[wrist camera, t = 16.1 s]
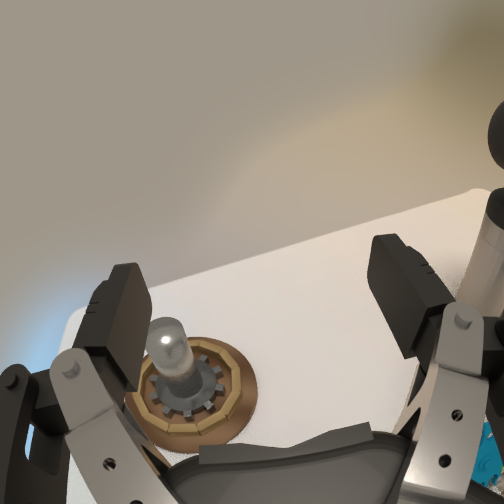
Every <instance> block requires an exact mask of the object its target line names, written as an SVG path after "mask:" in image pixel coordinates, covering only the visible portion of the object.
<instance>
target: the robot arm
mask: <svg viewBox="0 0 504 504" xmlns="http://www.w3.org/2000/svg"><path fill="white" fill-rule="evenodd" d="M488 145H489V150H490V153H491V155H492V157H493V159H494V161H495V162H496V163H497V164H498V165H499V166H500V167H501V168H502V169H504V101H503V102H502V103H501V104H500V105H499V106H498V108H497V109H496V110H495V112H494V114H493V116H492V118H491V121H490V124H489V129H488ZM367 279H368V284H369V287H370V290H371V291H372V293H373V295H374V297H375V299H376V301H377V303H378V305H379V307H380V309H381V311H382V313H383V315H384V317H385V319H386V321H387V323H388V325H389V327H390V329H391V331H392V333H393V335H394V338H395V340H396V342H397V344H398V346H399V348H400V350H401V352H402V355H403V357H404V359H408V358H412V357H415V356H417V358H418V360H419V363H418V364H417V367H416V370H415V373H414V377H413V380H412V383H411V387H410V390H409V393H408V396H407V399H406V402H405V405H404V408H403V411H402V413H401V415H400V418H399V419H398V421H397V423H396V425H395V427H394V429H393V431H392V433H388V432H382V431H371V428H370V424H369V422H365V423H361V424H357V425H353V426H349V427H345V428H340V429H335V430H331V431H328V432H325V433H323V434H321V435H319V436H316V437H314V438H312V439H309V440H307V441H305V442H302V443H300V444H297V445H295V446H292V447H289V448H276V447H267V446H258V445H251V444H244V443H236V444H219V445H199V455H196V456H193V457H190V458H187V459H185V460H183V461H181V462H179V463H177V464H175V465H174V466H171V465H170V463H169V462H168V461H167V460H166V459H165V457H164V456H163V455H162V454H161V453H160V452H159V451H158V449H157V448H156V447H155V446H154V445H153V443H152V442H151V440H150V439H149V438H148V436H147V435H146V433H145V432H144V430H143V429H142V427H141V426H140V424H139V423H138V421H137V420H136V418H135V417H134V415H133V414H132V412H131V411H130V409H129V407H128V406H127V404H126V403H125V402H124V398H125V393H126V392H138V386H139V380H140V374H141V368H142V362H143V356H144V351H145V345H146V340H147V335H148V330H149V325H150V320H151V315H152V302H151V297H150V294H149V292H148V289H147V287H146V284H145V281H144V278H143V276H142V273H141V270H140V268H139V266H138V264H137V263H127V264H118V265H115V266H114V267H113V270H112V272H111V274H110V277H109V279H108V280H106V281H103V282H102V283H101V284H100V285H99V286H98V287H97V288H96V290H95V291H94V292H93V295H92V297H91V300H90V302H89V305H88V307H87V309H86V314H84V317H83V319H82V322H81V325H80V327H79V330H78V333H77V335H76V338H75V341H74V344H73V346H72V348H71V349H68V350H65V351H63V352H62V353H60V354H59V355H58V356H57V357H56V358H55V359H54V361H53V362H52V364H51V367H50V369H47V370H43V371H40V372H36V373H33V374H31V373H30V372H29V371H28V370H27V368H26V367H25V366H23V365H21V364H14V365H11V366H9V367H8V368H7V369H5V370H4V371H3V372H2V374H1V375H0V504H66V497H67V482H68V471H69V461H70V452H71V454H72V456H73V459H74V461H75V463H76V465H77V467H78V469H79V471H80V473H81V475H82V477H83V479H84V481H85V483H86V484H87V486H88V488H89V490H90V492H91V494H92V495H93V497H94V499H95V501H96V502H97V504H504V468H503V471H502V475H501V476H500V477H499V479H498V480H497V488H498V490H499V491H502V493H501V495H499V494H497V493H495V492H493V491H492V490H490V489H488V488H486V487H485V486H483V485H481V484H479V483H478V482H476V481H474V480H473V479H471V476H472V472H473V468H474V465H475V461H476V457H477V453H478V448H479V444H480V439H481V434H482V429H483V423H484V417H485V414H486V416H487V419H488V422H489V424H490V427H491V430H492V433H493V435H494V438H495V441H496V444H497V447H498V450H499V453H500V457H501V460H502V463H503V467H504V188H499V189H496V190H494V191H493V192H492V193H491V194H490V196H489V199H488V202H487V206H486V210H485V214H484V218H483V221H482V225H481V228H480V232H479V235H478V238H477V241H476V244H475V247H474V250H473V253H472V256H471V259H470V262H469V264H468V267H467V270H466V272H465V275H464V278H463V280H462V282H461V285H460V287H459V290H458V292H457V295H456V297H455V299H454V297H453V296H452V294H451V293H450V292H449V290H448V289H447V287H446V286H445V285H444V283H443V282H442V281H441V279H440V278H439V277H438V275H437V274H435V271H434V270H433V269H432V267H431V266H429V263H428V262H427V261H426V259H425V258H424V257H423V256H422V254H421V253H419V252H418V251H416V250H415V249H413V248H412V247H410V246H406V245H405V244H404V243H403V241H402V240H401V239H400V238H399V236H398V235H397V234H395V233H394V234H385V235H376V236H374V238H373V241H372V247H371V253H370V259H369V265H368V271H367ZM30 424H32V425H33V426H34V432H33V437H32V442H31V448H30V454H29V460H28V459H27V457H26V455H25V444H26V439H27V434H28V429H29V425H30Z"/></svg>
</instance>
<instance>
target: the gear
mask: <svg viewBox="0 0 504 504" xmlns="http://www.w3.org/2000/svg"><path fill="white" fill-rule="evenodd" d="M491 432H492V430H491V427H490V424H489V422H486V423H484V424H483V429H482V436H481V439H480V444H479V448H478V453H477V457H476V461H475V465H474V468H473V472H472V476H471V479H473V480H474V481H476V482H478V483H479V484H480V483H481V482H482V483H481V485H483V486H485V487H486V488H487V484H488V482H489V481H490V479H491V478H492V476H494V475H495V476H494V477H493V479H492V482H493V484H494V485H497V480H498V479H499V477H500V476H501V472H502V471H503V468H504V467H503V463H502V460H501V457H500V453H499V450H498V447H497V444H496V441H495V438H494V435H492V436H491V437H489V438H488V439H487V437H488V436H489V434H490V433H491Z"/></svg>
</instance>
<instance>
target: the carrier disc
mask: <svg viewBox="0 0 504 504" xmlns="http://www.w3.org/2000/svg"><path fill="white" fill-rule="evenodd" d="M187 339H188V342H189V345H190V347H191V350H192V353H193V355H194V358H195V359H199V358H200V356H201V355H202V354H203V355H205V356H208V358H209V361H210V364H209V366H210V367H211V368H214V367H216V366H218V365H219V367H220V368H221V370H222V373H223V376H224V377H222V378H220V379H218V380H217V381H218V384H224V386H225V389H226V392H225V397H223V396H217V397H216V399H215V401H214V402H213V404H214V406H215V408H216V411H214V412H213V413H212V414H211V415H210V414H209V413H208V412H207V411H206V410H204V411H203V412H201V413H198V414H195V415H194V419H195V421H194V422H187V421H186V420H185V418H184V415H178V414H174V416H173V417H172V419H169V418H168V417H166V416H165V415H164V414H163V413H162V411H161V410H162V409H163V407H164V405H163V404H162V403H160V404H158V405H155V404H154V403H153V402H152V400H151V398H150V395H149V394H151V393H153V392H156V388H155V387H154V386H153V385H152V384H151V382H150V381H149V380H150V377H151V375H157V376H158V375H159V372H158V371H157V369H156V367H155V365H154V364H153V362H152V360H151V358H150V356H149V354H147V355H146V356H145V357H144V358H143V362H142V368H141V374H140V380H139V386H138V392H126V393H125V403H126V404H127V406H128V407H129V409H130V411H131V412H132V414H133V415H134V417H135V418H136V420H137V421H138V423H139V424H140V426H141V427H142V429H143V430H144V432H145V433H146V435H147V436H148V438H149V439H150V440H151V442H152V443H153V444H154V445H156V446H158V447H160V448H163V449H165V450H168V451H172V452H177V453H188V454H189V453H199V445H219V444H226V443H227V442H229V441H230V440H232V439H233V438H234V437H236V436H237V435H238V434H239V433H240V432H241V431H242V430H243V429H244V427H245V426H246V425H247V423H248V422H249V420H250V419H251V417H252V415H253V412H254V410H255V406H256V403H257V383H256V378H255V374H254V371H253V369H252V367H251V365H250V363H249V362H248V360H247V359H246V358H245V356H243V355H242V354H241V353H240V352H239V351H238V350H237V349H235V348H234V347H232V346H231V345H229V344H227V343H224V342H222V341H219V340H216V339H212V338H206V337H188V338H187Z"/></svg>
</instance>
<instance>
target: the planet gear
mask: <svg viewBox="0 0 504 504" xmlns="http://www.w3.org/2000/svg"><path fill="white" fill-rule="evenodd" d="M145 349H146V351H147V353H148V354H149V356H150V358H151V360H152V362H153V364H154V365H155V367H156V369H157V371H158V372H159V375H158V376H157V375H151V377H150V380H149V381H150V382H151V384H152V385H153V386H154V387H155V388H156V392H153V393H151V394H149V395H150V398H151V400H152V402H153V403H154V404H155V405H158V404H160V403H162V404H163V405H164V407H163V409H162V410H161V411H162V413H163V414H164V415H165V416H166V417H168V418H169V419H172V417H173V416H174V414H178V415H184V418H185V420H186V421H187V422H194V421H195V419H194V415H195V414H198V413H201V412H203V411H204V410H206V411H207V412H208V413H209V414H210V415H211V414H212V413H213V412H214V411H216V408H215V406H214V404H213V402H214V401H215V399H216V397H217V396H223V397H225V392H226V389H225V386H224V384H218V381H217V380H218V379H220V378H222V377H224V376H223V373H222V370H221V368H220V367H219V365H218V366H216V367H214V368H211V367H210V366H209V364H210V361H209V358H208V356H205V355H203V354H202V355H201V356H200V358H199V359H195V358H194V355H193V353H192V350H191V347H190V345H189V342H188V339H187V337H186V334H185V331H184V328H183V326H182V324H181V323H180V322H179V321H178V320H177V319H175V318H171V317H161V318H158V319H155V320H153V321H151V322H150V325H149V330H148V335H147V340H146V345H145Z"/></svg>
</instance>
